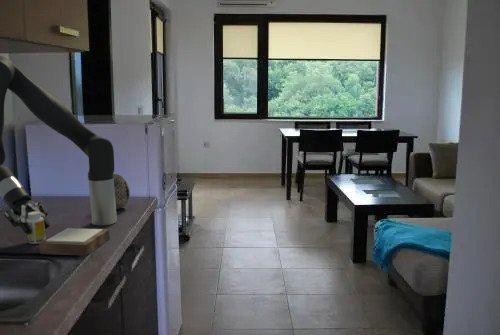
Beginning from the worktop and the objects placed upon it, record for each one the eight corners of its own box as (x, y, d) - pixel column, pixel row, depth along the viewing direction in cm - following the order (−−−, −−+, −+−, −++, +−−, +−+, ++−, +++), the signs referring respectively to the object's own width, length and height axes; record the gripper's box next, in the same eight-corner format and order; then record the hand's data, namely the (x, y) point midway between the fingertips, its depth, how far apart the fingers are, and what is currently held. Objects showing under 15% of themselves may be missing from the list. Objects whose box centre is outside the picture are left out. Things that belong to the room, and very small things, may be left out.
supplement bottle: (48, 238, 169) (45, 210, 168) (43, 244, 164) (40, 214, 162) (31, 239, 169) (28, 211, 167) (25, 244, 163) (22, 215, 162)
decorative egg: (96, 211, 204) (94, 176, 201) (112, 204, 215) (109, 171, 212) (121, 213, 201) (119, 177, 198) (135, 206, 212) (133, 172, 209)
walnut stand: (66, 237, 170) (65, 226, 169) (109, 239, 167) (108, 227, 167) (40, 253, 154) (38, 241, 154) (87, 255, 152) (86, 243, 151)
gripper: (-3, 190, 161) (24, 229, 157) (35, 182, 173) (61, 218, 169) (-11, 204, 164) (16, 243, 160) (27, 195, 176) (52, 230, 173)
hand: (39, 230), depth 165 cm, fingers open, 6 cm apart
